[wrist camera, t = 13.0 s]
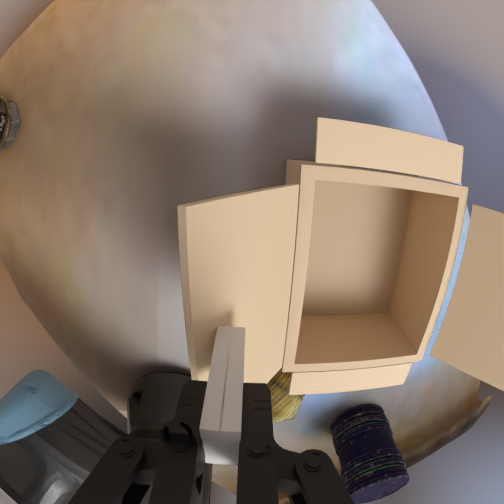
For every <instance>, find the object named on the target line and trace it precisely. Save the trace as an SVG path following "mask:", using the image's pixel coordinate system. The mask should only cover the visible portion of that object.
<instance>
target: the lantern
mask: <svg viewBox="0 0 504 504" xmlns="http://www.w3.org/2000/svg"><path fill="white" fill-rule="evenodd" d="M19 126H20V117H19V113H18V108H17V104H16V103H14V102H10V101H6V99H5V98H4V97H3V96H1V95H0V151H1V150H5V149H6V148H7V147H8V146H9V145H10V144H11V143H12V142H13V141H14V140H15V139H16V136H17V133H18V129H19Z"/></svg>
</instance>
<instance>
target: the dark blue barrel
mask: <svg viewBox="0 0 504 504" xmlns="http://www.w3.org/2000/svg"><path fill="white" fill-rule="evenodd" d="M331 432H332V436H333V443H334V447H335V450H336V454H337V455H338V456H339V460H340V465H341V469H342V470H341V478H342V481H343V483H344V485H345V487H346V489H347V491H348V493H349V494H350V496H351V498H352V500H353V502H354V504H361V503H367V502H371V501H374V500H377V499H380V498H383V497H386V496H388V495H390V494H392V493H394V492H396V491H397V490H399V489H401V488H402V487H404V486H405V485H406V484H407V483H408V482H409V480H410V478H409V475H408V473H407V469H406V467H405V466H406V465H405V462H404V460H403V458H402V454H401V453H400V451H399V450H398V449H397V447H396V445H395V442H394V439H393V437H392V434H393V433H392V430H391V428H390V424H389V421H388V419H387V418H386V416H385V414H384V411H383V409H382V407H381V406H379V405H376V404H363V405H359V406H355V407H353V408H350V409H348V410H346V411H344V412H343V413H341V414H340V415H338V416H337V417H336V418H335V419H334V421H333V422H332V424H331Z"/></svg>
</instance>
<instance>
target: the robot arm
mask: <svg viewBox="0 0 504 504" xmlns="http://www.w3.org/2000/svg"><path fill="white" fill-rule="evenodd" d="M245 329H246V327H227V326H218V328H217V333H216V338H215V344H214V349H213V354H212V360H211V365H210V371H209V376H208V381H198V380H192V378H191V377H189V376H185V375H181V374H175V373H154V374H149V375H146V376H143V377H141V378H140V379H138V380H137V381H136V382H135V383H134V385H133V386H132V389H131V391H130V393H129V396H128V400H127V422H128V434H126V433H125V432H123V431H122V430H121V429H119V428H117V427H116V426H115V425H113V424H112V423H110V422H109V421H108V420H106V419H105V418H104V417H102V416H101V415H100V414H98V413H97V412H96V411H94V410H93V409H92V408H91V407H89V406H88V405H87V404H86V403H84V402H83V401H82V400H81V399H80V398H78V395H77V394H76V393H75V392H74V391H72V390H69V389H68V388H67V387H65V386H64V385H63V384H62V383H61V382H59V381H58V380H57V379H56V378H55V377H53V376H52V375H51V374H50V373H48V372H46V371H43V370H35V371H32V372H30V373H29V374H27V375H26V376H25V377H24V378H23V379H21V380H20V381H19V382H18V383H17V384H16V385H15V386H14V387H13V388H12V389H11V390H10V391H9V392H8V393H7V394H6V395H5V396H4V397H3V398H2V399H1V400H0V504H210V492H211V478H212V465H213V464H226V465H238V479H237V502H236V504H278V492H280V493H284V494H287V495H288V498H289V500H290V503H291V504H354V502H353V500H352V498H351V496H350V494H349V493H348V491H347V489H346V487H345V485H344V483H343V481H342V479H341V478H340V476H339V474H338V472H337V470H336V468H335V466H334V464H333V462H332V460H331V459H330V457H329V456H328V455H327V454H326V453H324V452H323V451H321V450H316V449H312V450H306V451H304V452H302V453H296V452H292V451H288V450H285V449H283V448H282V447H280V446H279V445H278V444H277V443H276V442H275V440H274V436H273V422H272V404H271V391H270V389H269V388H268V386H267V385H266V383H244V366H245Z"/></svg>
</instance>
